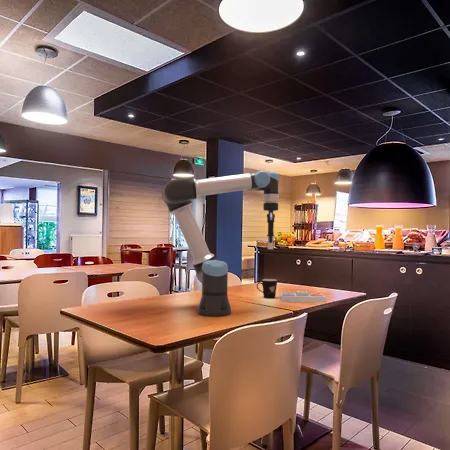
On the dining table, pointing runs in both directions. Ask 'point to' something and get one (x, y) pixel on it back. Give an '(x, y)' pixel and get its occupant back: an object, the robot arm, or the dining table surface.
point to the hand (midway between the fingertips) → (270, 249)
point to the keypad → (302, 298)
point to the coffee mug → (268, 288)
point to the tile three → (316, 294)
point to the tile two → (302, 293)
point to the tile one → (288, 294)
